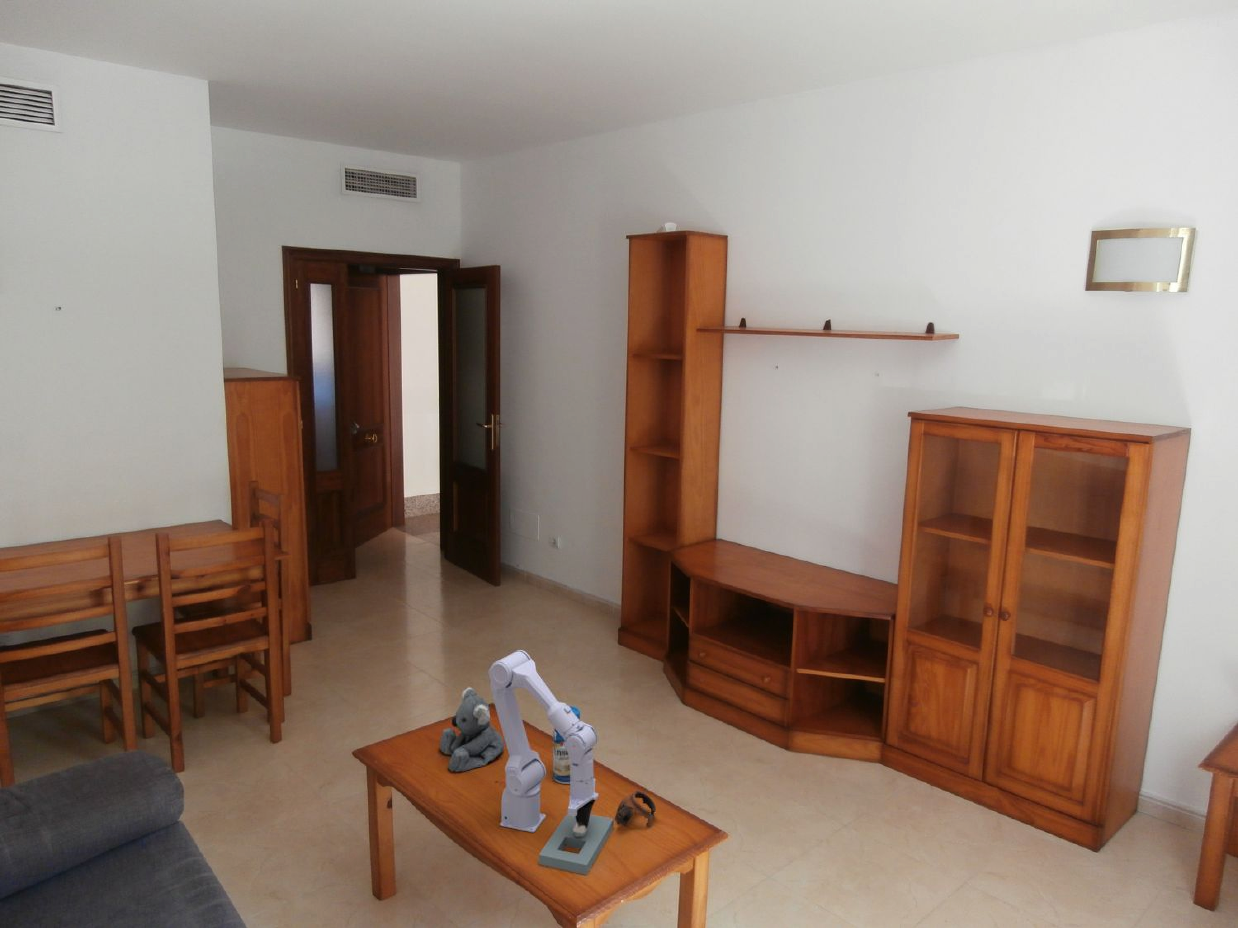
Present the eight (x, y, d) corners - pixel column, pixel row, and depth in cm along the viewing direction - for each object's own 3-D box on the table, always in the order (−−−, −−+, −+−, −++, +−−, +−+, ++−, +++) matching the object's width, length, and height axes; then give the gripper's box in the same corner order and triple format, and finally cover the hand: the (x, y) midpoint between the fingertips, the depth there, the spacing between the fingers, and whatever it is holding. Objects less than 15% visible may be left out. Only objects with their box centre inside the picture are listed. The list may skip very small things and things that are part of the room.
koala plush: (437, 748, 256) (436, 687, 253) (495, 737, 263) (495, 677, 260) (451, 776, 240) (450, 711, 237) (512, 763, 248) (512, 700, 245)
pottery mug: (623, 808, 227) (639, 784, 225) (648, 834, 222) (665, 810, 221) (600, 818, 216) (617, 793, 215) (626, 846, 212) (643, 821, 210)
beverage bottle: (584, 770, 244) (585, 704, 241) (579, 786, 236) (580, 718, 233) (555, 768, 245) (555, 702, 242) (549, 784, 237) (550, 716, 234)
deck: (538, 864, 202) (538, 854, 201) (569, 818, 220) (569, 809, 220) (586, 874, 198) (586, 865, 198) (613, 827, 217) (613, 818, 216)
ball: (571, 819, 210) (576, 826, 212) (568, 832, 207) (573, 840, 209) (584, 818, 208) (589, 826, 210) (582, 832, 206) (587, 840, 208)
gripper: (587, 793, 200) (588, 846, 202) (606, 763, 213) (607, 814, 215) (559, 789, 202) (560, 842, 204) (580, 759, 216) (581, 809, 218)
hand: (582, 827), depth 210 cm, fingers closed, pressing on ball
